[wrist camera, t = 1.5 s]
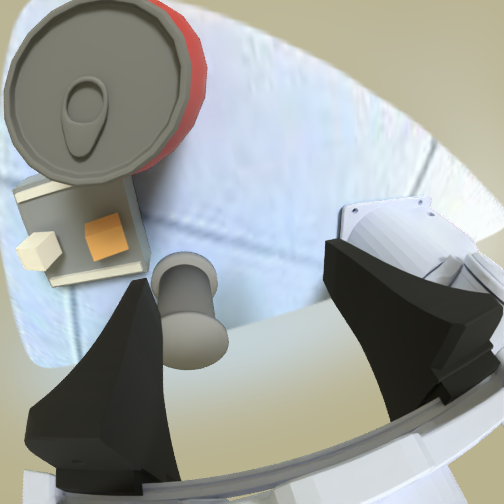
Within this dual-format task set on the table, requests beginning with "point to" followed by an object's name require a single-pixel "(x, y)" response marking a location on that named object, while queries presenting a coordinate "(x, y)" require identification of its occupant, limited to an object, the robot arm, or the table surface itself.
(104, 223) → the orange cube
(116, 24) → the beer can
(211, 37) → the table surface
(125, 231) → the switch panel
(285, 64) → the table surface
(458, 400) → the robot arm
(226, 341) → the cord spool
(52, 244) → the cream cube
